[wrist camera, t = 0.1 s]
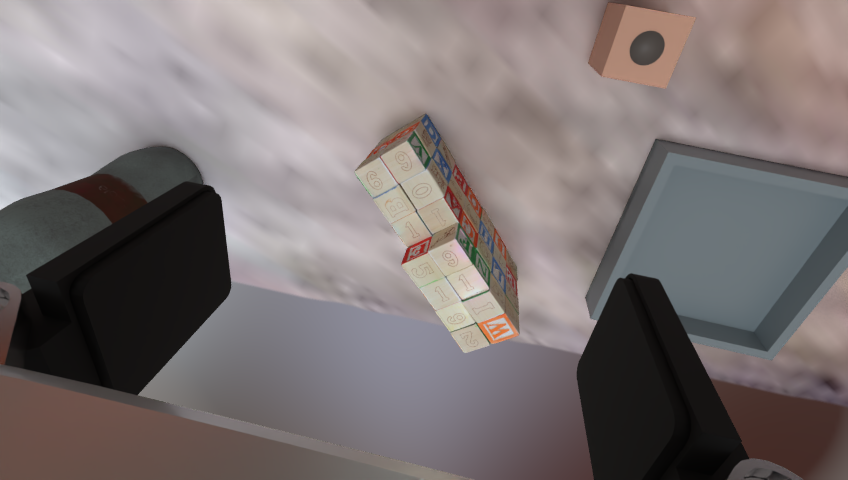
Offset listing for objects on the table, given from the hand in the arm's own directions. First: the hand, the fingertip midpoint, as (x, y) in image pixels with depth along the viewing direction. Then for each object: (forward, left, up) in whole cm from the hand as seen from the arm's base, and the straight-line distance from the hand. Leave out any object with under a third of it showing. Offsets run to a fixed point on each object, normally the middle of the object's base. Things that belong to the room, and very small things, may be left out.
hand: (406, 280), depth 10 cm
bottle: (+20, -35, -37) cm, 55 cm away
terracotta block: (-4, +12, -37) cm, 39 cm away
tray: (+14, +28, -37) cm, 48 cm away
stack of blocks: (+16, 0, -37) cm, 40 cm away
